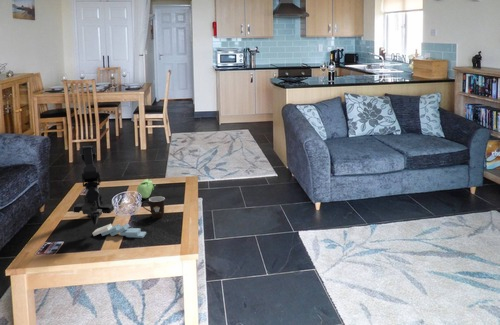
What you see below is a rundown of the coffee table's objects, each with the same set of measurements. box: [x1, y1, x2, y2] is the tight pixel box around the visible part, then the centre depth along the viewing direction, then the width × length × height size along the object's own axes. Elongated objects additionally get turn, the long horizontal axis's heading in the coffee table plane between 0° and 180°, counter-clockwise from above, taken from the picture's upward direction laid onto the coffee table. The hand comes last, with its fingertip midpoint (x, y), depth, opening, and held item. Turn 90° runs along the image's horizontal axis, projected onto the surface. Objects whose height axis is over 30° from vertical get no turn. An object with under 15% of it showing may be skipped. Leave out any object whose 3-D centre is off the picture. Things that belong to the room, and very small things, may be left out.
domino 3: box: [109, 223, 130, 237], centre depth 225 cm, size 2×5×8 cm
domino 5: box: [125, 231, 147, 239], centre depth 225 cm, size 2×5×8 cm
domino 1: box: [91, 223, 113, 237], centre depth 226 cm, size 2×5×8 cm
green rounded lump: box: [136, 178, 157, 199], centre depth 278 cm, size 12×11×11 cm
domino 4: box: [119, 227, 142, 237], centre depth 225 cm, size 2×5×8 cm
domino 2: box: [100, 223, 122, 237], centre depth 226 cm, size 2×5×8 cm
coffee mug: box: [141, 196, 166, 219], centre depth 249 cm, size 12×9×10 cm
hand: (95, 224), depth 226 cm, fingers closed
